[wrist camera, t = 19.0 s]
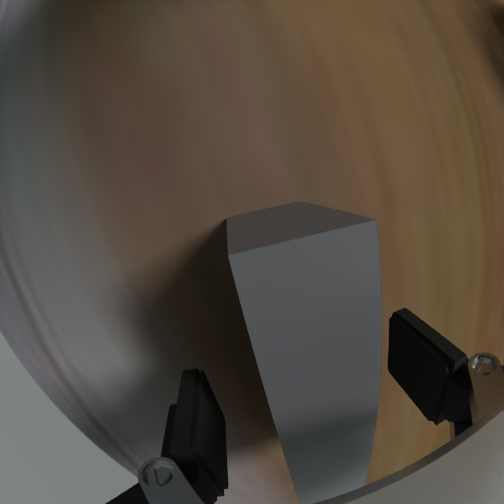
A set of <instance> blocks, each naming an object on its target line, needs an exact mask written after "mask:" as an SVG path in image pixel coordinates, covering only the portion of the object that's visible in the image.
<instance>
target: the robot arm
mask: <svg viewBox="0 0 504 504" xmlns="http://www.w3.org/2000/svg"><path fill="white" fill-rule="evenodd" d="M388 370H389V372H390V374H391V375H392V376H393V378H394V379H395V380H396V381H397V382H398V384H399V385H400V386H401V387H402V388H403V390H404V391H405V392H406V393H407V395H408V396H409V397H410V398H411V400H412V401H413V402H414V403H415V405H416V406H417V407H418V408H419V410H420V411H421V412H422V413H423V415H424V416H425V417H426V418H427V420H429V421H433V422H434V423H435V425H438V424H439V423H441V422H442V421H444V420H445V419H447V420H448V421H449V422H450V437H451V441H449V442H448V443H446V444H445V445H443V446H442V447H440V448H439V449H437V450H435V451H434V452H432V453H430V454H429V455H427V456H425V457H424V458H422V459H420V460H418V461H416V462H415V463H413V464H411V465H409V466H407V467H405V468H403V469H401V470H399V471H397V472H395V473H393V474H391V475H389V476H387V477H385V478H382V479H380V480H378V481H376V482H373V483H371V484H369V485H366V486H364V487H361V488H359V489H356V490H353V491H351V492H348V493H345V494H342V495H339V496H336V497H333V498H330V499H327V500H323V501H320V502H317V503H313V504H504V366H501V364H500V361H499V360H498V358H497V357H496V356H494V355H492V354H490V353H478V354H475V355H474V356H472V357H471V358H470V359H468V358H467V357H466V354H465V353H464V352H462V351H461V350H460V349H459V348H457V347H456V346H455V345H454V344H452V343H451V342H450V341H448V340H447V339H446V338H445V337H443V336H442V335H441V334H439V333H438V332H437V331H436V330H434V329H433V328H432V327H430V326H429V325H428V324H427V323H425V322H424V321H423V320H421V319H420V318H419V317H417V316H416V315H415V314H413V313H412V312H411V311H409V310H408V309H406V308H403V309H401V310H398V311H396V312H394V313H393V314H392V317H391V318H390V319H389V351H388ZM137 477H138V481H139V482H138V483H137V484H136V485H134V486H133V487H131V488H130V489H128V490H127V491H125V492H123V493H122V494H120V495H119V496H117V497H116V498H114V499H113V500H111V501H109V502H107V503H106V504H214V503H215V502H216V501H217V496H224V489H228V470H227V451H226V428H225V418H224V415H223V413H222V411H221V409H220V407H219V404H218V402H217V400H216V398H215V396H214V393H213V391H212V389H211V387H210V384H209V382H208V380H207V377H206V375H205V373H204V371H201V372H199V370H198V369H191V370H185V371H183V373H182V378H181V384H180V389H179V395H178V401H177V404H173V405H171V406H170V408H169V413H168V418H167V424H166V429H165V435H164V440H163V446H162V452H161V457H155V458H152V459H149V460H148V461H146V462H145V463H144V464H143V465H142V466H141V467H140V469H139V470H138V476H137Z"/></svg>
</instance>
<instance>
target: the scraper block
mask: <svg viewBox="0 0 504 504" xmlns="http://www.w3.org/2000/svg"><path fill="white" fill-rule="evenodd" d="M227 244H228V257H229V261H230V265H231V269H232V273H233V277H234V281H235V285H236V288H237V292H238V296H239V300H240V303H241V307H242V311H243V315H244V318H245V322H246V326H247V329H248V333H249V337H250V340H251V344H252V347H253V351H254V355H255V358H256V362H257V365H258V369H259V372H260V376H261V379H262V383H263V386H264V390H265V393H266V396H267V400H268V403H269V407H270V410H271V413H272V417H273V420H274V423H275V427H276V430H277V433H278V436H279V440H280V443H281V446H282V449H283V453H284V456H285V459H286V462H287V465H288V468H289V472H290V475H291V478H292V481H293V484H294V487H295V490H296V493H297V496H298V499H299V502H300V504H313V503H317V502H320V501H323V500H327V499H330V498H333V497H336V496H339V495H342V494H345V493H348V492H351V491H353V490H356V489H359V488H361V487H364V485H365V480H366V476H367V471H368V467H369V462H370V456H371V451H372V445H373V439H374V433H375V426H376V418H377V410H378V401H379V390H380V377H381V360H382V285H381V267H380V254H379V243H378V233H377V224H376V220H375V219H371V218H367V217H364V216H360V215H356V214H352V213H348V212H344V211H340V210H336V209H332V208H328V207H323V206H319V205H315V204H310V203H306V202H301V201H300V202H295V203H290V204H286V205H281V206H277V207H272V208H268V209H263V210H259V211H255V212H250V213H246V214H242V215H238V216H234V217H229V218H227Z"/></svg>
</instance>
